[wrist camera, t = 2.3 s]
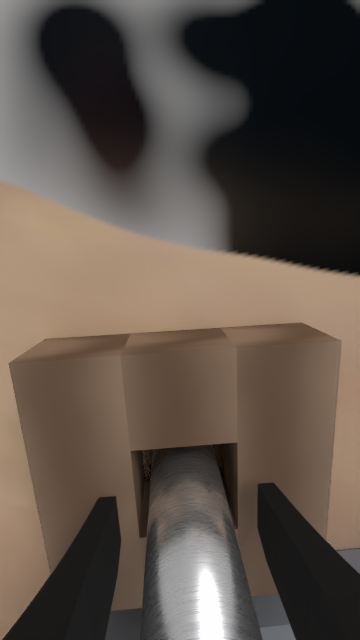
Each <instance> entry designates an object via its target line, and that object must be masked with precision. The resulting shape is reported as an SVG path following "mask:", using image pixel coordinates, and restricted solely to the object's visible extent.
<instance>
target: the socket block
mask: <svg viewBox="0 0 360 640" xmlns="http://www.w3.org/2000/svg"><path fill="white" fill-rule="evenodd" d="M340 354H341V340H338V339H336V338H334V337H332V336H330V335H327V334H325V333H323V332H321V331H319V330H317V329H314V328H312V327H310V326H308V325H306V324H303V323H290V324H275V325H259V326H244V327H228V328H212V329H197V330H181V331H166V332H150V333H135V334H119V335H103V336H88V337H72V338H57V339H45V340H43V341H42V342H40V343H39V344H37V345H36V346H34V347H33V348H31V349H30V350H28V351H27V352H25V353H24V354H22V355H20V356H19V357H17V358H16V359H14V360H13V361H11V362H10V363H9V368H10V373H11V378H12V383H13V388H14V393H15V398H16V403H17V408H18V413H19V418H20V423H21V428H22V433H23V438H24V443H25V448H26V453H27V458H28V463H29V468H30V473H31V478H32V483H33V488H34V493H35V498H36V503H37V508H38V513H39V518H40V523H41V528H42V533H43V538H44V543H45V548H46V553H47V558H48V563H49V568H50V573H51V574H52V572H53V571H54V569H55V568H56V566H57V565H58V563H59V562H60V560H61V559H62V557H63V556H64V554H65V553H66V551H67V550H68V548H69V546H70V545H71V543H72V542H73V540H74V539H75V537H76V535H77V534H78V532H79V530H80V529H81V527H82V525H83V524H84V522H85V520H86V519H87V517H88V515H89V513H90V512H91V510H92V508H93V506H94V504H95V503H96V501H97V499H98V498H99V497H109V496H116V501H117V509H118V517H119V525H120V533H121V548H120V558H119V567H118V575H117V581H116V586H115V591H114V596H113V601H112V607H111V611H116V610H126V609H135V608H142V600H143V585H144V570H145V556H146V541H147V527H148V512H149V497H150V483H151V481H146V482H145V478H144V467H143V457H142V450H149V449H162V448H174V447H187V446H199V445H212V444H223V467H224V475H221V479H222V483H223V487H224V490H225V494H226V498H227V502H228V506H229V510H230V514H231V518H232V522H233V526H234V530H235V533H236V537H237V541H238V545H239V549H240V553H241V557H242V561H243V565H244V569H245V573H246V576H247V580H248V584H249V588H250V592H251V596H252V597H253V596H263V595H272V594H278V591H277V588H276V586H275V583H274V580H273V578H272V575H271V572H270V570H269V567H268V564H267V561H266V558H265V554H264V551H263V547H262V544H261V540H260V536H259V533H258V529H257V493H258V484H260V483H271V482H274V483H275V484H276V485H277V486H278V488H279V489H280V490H281V491H282V492H283V494H284V495H285V496H286V497H287V498H288V499H289V501H290V502H291V503H292V504H293V505H294V506H295V508H296V509H297V510H298V511H299V512H300V513H301V514H302V515H303V517H304V518H305V519H306V520H307V521H308V522H309V523H310V524H311V525H312V526H313V527H314V529H315V530H316V531H317V532H318V533H319V534H320V535H321V536H322V537H323V538H324V539H325V540H326V534H327V521H328V508H329V495H330V482H331V469H332V457H333V444H334V431H335V418H336V405H337V392H338V379H339V367H340Z"/></svg>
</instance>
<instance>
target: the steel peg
mask: <svg viewBox="0 0 360 640" xmlns="http://www.w3.org/2000/svg"><path fill="white" fill-rule="evenodd" d="M140 640H263V639H262V635H261V631H260V627H259V623H258V619H257V616H256V612H255V608H254V604H253V600H252V596H251V592H250V588H249V584H248V580H247V576H246V573H245V569H244V565H243V561H242V557H241V553H240V549H239V545H238V541H237V537H236V533H235V530H234V526H233V522H232V518H231V514H230V510H229V506H228V502H227V498H226V494H225V490H224V487H223V483H222V479H221V475H220V471H219V467H218V463H217V459H216V455H215V451H214V447H213V444H212V445H199V446H187V447H174V448H162V449H153V453H152V468H151V483H150V497H149V512H148V527H147V541H146V556H145V570H144V585H143V600H142V614H141V629H140Z"/></svg>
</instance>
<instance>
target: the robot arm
mask: <svg viewBox="0 0 360 640" xmlns="http://www.w3.org/2000/svg"><path fill="white" fill-rule="evenodd" d="M257 529H258V533H259V536H260V540H261V544H262V547H263V551H264V554H265V558H266V561H267V564H268V567H269V570H270V572H271V575H272V578H273V580H274V583H275V586H276V588H277V591H278V594H279V596H280V599H281V602H282V604H283V607H284V610H285V612H286V615H287V618H288V620H289V623H290V625H291V628H292V631H293V633H294V636H295V639H296V640H360V574H359V573H358V572H357V571H356V570H355V569H354V568H353V567H352V566H351V565H350V564H349V563H348V562H347V561H346V560H345V559H344V558H343V557H342V556H341V555H340V554H339V553H338V552H337V551H336V550H335V549H334V548H333V547H332V546H331V545H330V544H329V543H328V542H327V541H326V540H325V539H324V538H323V537H322V536H321V535H320V534H319V533H318V532H317V531H316V530H315V529H314V527H313V526H312V525H311V524H310V523H309V522H308V521H307V520H306V519H305V518H304V517H303V515H302V514H301V513H300V512H299V511H298V510H297V509H296V508H295V506H294V505H293V504H292V503H291V502H290V501H289V499H288V498H287V497H286V496H285V495H284V494H283V492H282V491H281V490H280V489H279V488H278V486H277V485H276V484H275V483H274V482H271V483H260V484H258V493H257ZM120 548H121V533H120V525H119V517H118V509H117V501H116V496H109V497H99V498H98V499H97V501H96V503H95V504H94V506H93V508H92V510H91V512H90V513H89V515H88V517H87V519H86V520H85V522H84V524H83V525H82V527H81V529H80V530H79V532H78V534H77V535H76V537H75V539H74V540H73V542H72V543H71V545H70V546H69V548H68V550H67V551H66V553H65V554H64V556H63V557H62V559H61V560H60V562H59V563H58V565H57V566H56V568H55V569H54V571H53V572H52V574H51V575H50V577H49V578H48V579H47V581H46V582H45V584H44V585H43V587H42V588H41V590H40V591H39V592H38V594H37V595H36V596H35V598H34V599H33V601H32V602H31V603H30V605H29V606H28V607H27V609H26V610H25V611H24V613H23V614H22V615H21V617H20V618H19V619H18V620H17V622H16V623H15V624H14V626H13V627H12V628H11V629H10V631H9V632H8V633H7V634H6V636H5V637H4V638H3V639H2V640H105V637H106V632H107V627H108V622H109V617H110V612H111V607H112V601H113V596H114V591H115V586H116V581H117V575H118V567H119V558H120Z"/></svg>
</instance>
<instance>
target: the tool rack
mask: <svg viewBox="0 0 360 640" xmlns="http://www.w3.org/2000/svg"><path fill="white" fill-rule="evenodd" d="M337 552H338V553H339V554H340V555H341V556H342V557H343V558H344V559H345V560H346V561H347V562H348V563H349V564H350V565H351V566H352V567H353V568H354V569H355V570H356V571H357V572H358V573H359V574H360V549H350V550H340V551H337ZM252 600H253V604H254V608H255V612H256V616H257V619H258V623H259V627H260V631H261V635H262V639H263V640H296V639H295V636H294V633H293V631H292V628H291V625H290V623H289V620H288V618H287V615H286V612H285V610H284V607H283V604H282V602H281V599H280V596H279V594H272V595H263V596H253V597H252ZM141 614H142V608H135V609H126V610H116V611H111V612H110V617H109V622H108V627H107V632H106V637H105V640H140V629H141Z"/></svg>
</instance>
